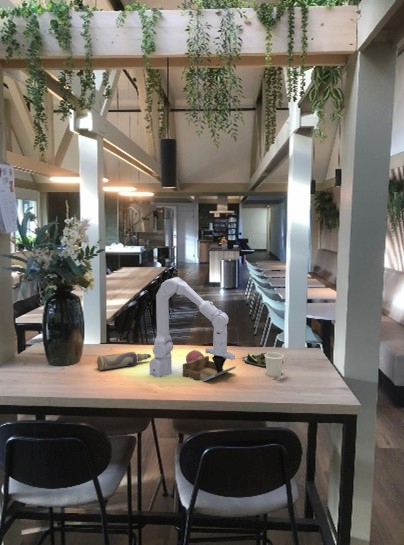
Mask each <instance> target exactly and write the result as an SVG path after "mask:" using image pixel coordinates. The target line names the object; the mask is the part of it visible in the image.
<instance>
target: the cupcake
mask: <svg viewBox="0 0 404 545" xmlns="http://www.w3.org/2000/svg"><path fill="white" fill-rule="evenodd" d="M202 357H205V355H204V354H203V353H202V352H201V351H200V350H196V349H194V350H191V351H189V352H188V353H187V354H186V356H185V361H186V362H185V363H187V362H190V361H193V360H196V359H199V358H202Z"/></svg>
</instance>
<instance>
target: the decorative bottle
mask: <svg viewBox="0 0 404 545" xmlns="http://www.w3.org/2000/svg"><path fill="white" fill-rule="evenodd" d="M150 358H152V355H151V354H150V353H136V352H135V351H128V352H122V353H119V352H118V353H113V354H112V353H111V354H106V355H99V356H98V357H97V360H96V364H97V365H96V366H97V369H98V370H99V371H104V370H111V369H116V368H117V369H118V368H124V367H129V366H130V367H133V365H134V366H136V365H138V363H139V362H142V361H145V360H148V359H150Z"/></svg>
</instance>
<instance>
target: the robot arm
mask: <svg viewBox="0 0 404 545" xmlns="http://www.w3.org/2000/svg"><path fill="white" fill-rule="evenodd" d="M175 293H176V295H179V296H180V295H181V296H185V297H186V298H188V299H189V300H190V301H191V302H192V303H194V304H195V305H196V306H197V307H198V310H199V312H200V313H202V315H203V316H205V318H207V319H208V320H209V321H210V322H211V325H212V326H213V332H212V333H213V338H212V340H213V343H212V348H210V347H207V348H205V349H204V350H205V354H210V355H213V356H212V357H211V359H212V360H211V361H212V362H214V363H215V366H216V370H217V373H219V372H222V368H223V369H224V365H225V363H226V361H227V359H228V360H230V361H233V360H235V359H236V354H233V353H231V352H229V351H228V347H227V346H228V325H227V324H228V323H229V319H230V318H229V315H227V313H226V312H223V311H222V310H221V309H218V308H217V307H216V306H215V305H214V302H213V301H209V300H204V299H203V298H202V297H201V296H200V295H199V294H198V293H197V292H196V291H195V290H194V289H193V288H192V287H191V286H189V284H188V283H187V281H185V280H183V279H182V278H181V277H180V276H179V277H178V276H175V277H173V278H169V279H166V280H164V282H162V283H161V284H160V287H159V289H158V291H157V293H156V296H155V298H156V299H155V301H156V303H155V304H156V305H155V306H156V307H155V308H156V310H155V311H156V312H155V313H156V336H155V339H154V345H153V348H152V353H153V356H154V358H152V359H151V360H150V361H149V376H153V377H156V378H161V377H164V376H169V375H171V374H172V368H173V367H172V353H171V352H172V351H173V350H174V343H173V341H172V336H171V335H170V322H169V320H170V317H169V315H170V314H169V312H170V310H169V299H170V298H171V297H172V296H173V295H174V294H175Z"/></svg>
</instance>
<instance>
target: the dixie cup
mask: <svg viewBox="0 0 404 545" xmlns="http://www.w3.org/2000/svg"><path fill="white" fill-rule="evenodd" d="M265 353H266V352H265ZM264 356H265V361H266V368H265V369H266V375H267V376H268V377H275V378H273V379H272V380H273V381H274V380H275V381H276V380H280V379H281V375H282V370H283V362H284V357H285V356H284V354H283V353H279V352H267V353H266V354H265V355H264Z"/></svg>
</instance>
